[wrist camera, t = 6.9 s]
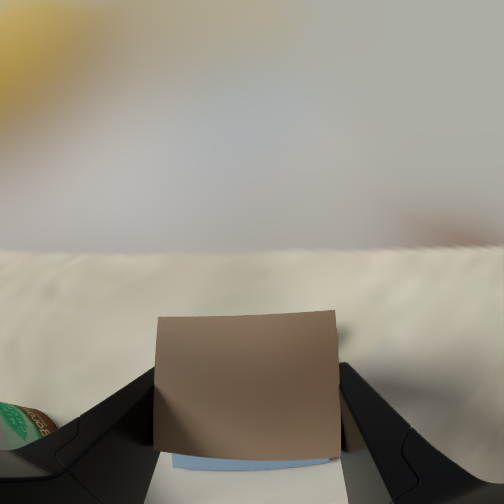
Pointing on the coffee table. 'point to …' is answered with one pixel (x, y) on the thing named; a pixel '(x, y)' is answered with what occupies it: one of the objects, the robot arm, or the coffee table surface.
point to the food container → (22, 426)
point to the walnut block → (248, 387)
